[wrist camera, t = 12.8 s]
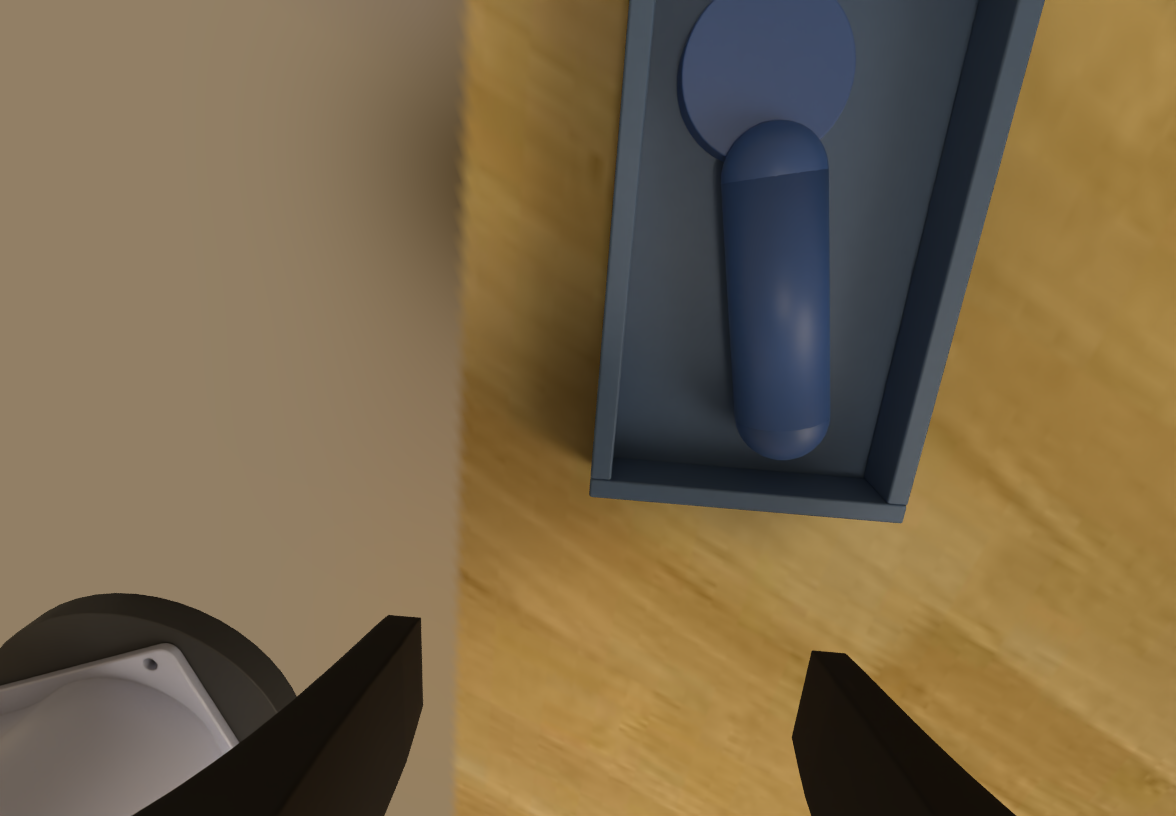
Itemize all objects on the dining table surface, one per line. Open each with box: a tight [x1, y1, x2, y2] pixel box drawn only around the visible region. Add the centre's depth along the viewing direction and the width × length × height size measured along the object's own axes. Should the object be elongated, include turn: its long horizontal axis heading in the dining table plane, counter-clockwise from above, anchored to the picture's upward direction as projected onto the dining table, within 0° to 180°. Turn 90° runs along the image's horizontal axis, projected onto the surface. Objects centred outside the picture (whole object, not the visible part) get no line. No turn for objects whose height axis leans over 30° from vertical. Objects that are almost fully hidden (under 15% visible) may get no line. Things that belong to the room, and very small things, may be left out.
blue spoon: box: [677, 0, 856, 460], centre depth 16 cm, size 12×4×3 cm, turn 8°
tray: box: [589, 0, 1045, 523], centre depth 16 cm, size 15×9×2 cm, turn 176°
